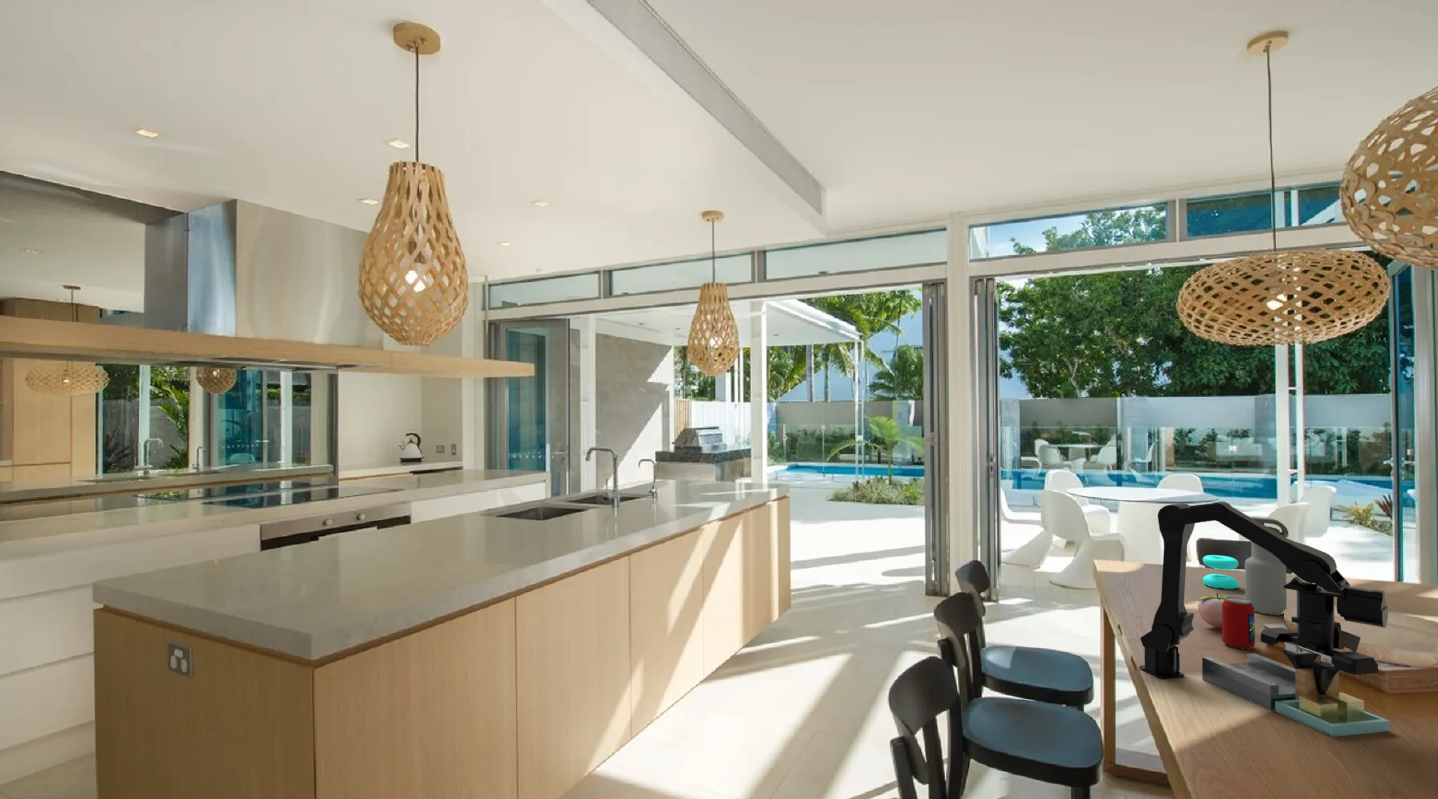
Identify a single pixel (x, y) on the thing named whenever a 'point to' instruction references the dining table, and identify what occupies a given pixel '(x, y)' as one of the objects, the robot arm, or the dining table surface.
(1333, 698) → the yellow cube
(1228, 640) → the beverage can
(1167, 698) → the dining table surface
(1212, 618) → the decorative fruit
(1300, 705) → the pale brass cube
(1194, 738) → the dining table surface
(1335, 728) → the tray
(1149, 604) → the dining table surface
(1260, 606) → the water bottle
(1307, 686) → the wooden block
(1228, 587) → the donuts
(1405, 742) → the dining table surface
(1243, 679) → the slot block
